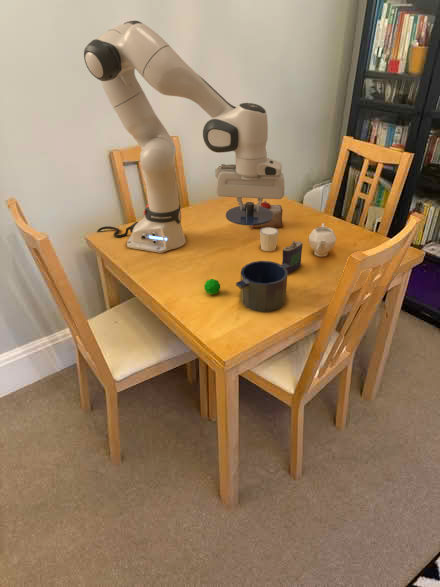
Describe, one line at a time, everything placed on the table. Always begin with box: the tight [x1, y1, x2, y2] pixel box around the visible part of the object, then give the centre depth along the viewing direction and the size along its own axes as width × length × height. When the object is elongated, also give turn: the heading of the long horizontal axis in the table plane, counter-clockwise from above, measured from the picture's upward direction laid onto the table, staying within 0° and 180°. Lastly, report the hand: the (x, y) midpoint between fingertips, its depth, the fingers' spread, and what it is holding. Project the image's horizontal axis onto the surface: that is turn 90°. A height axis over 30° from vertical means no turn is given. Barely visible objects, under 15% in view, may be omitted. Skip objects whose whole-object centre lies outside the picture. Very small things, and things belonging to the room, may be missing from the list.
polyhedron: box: [203, 278, 221, 295], centre depth 130 cm, size 5×5×5 cm
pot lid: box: [225, 201, 273, 227], centre depth 128 cm, size 15×15×5 cm
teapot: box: [308, 222, 337, 257], centre depth 149 cm, size 10×20×9 cm, turn 168°
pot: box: [235, 260, 291, 313], centre depth 126 cm, size 14×19×10 cm
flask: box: [281, 240, 303, 276], centre depth 140 cm, size 9×3×11 cm, turn 134°
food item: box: [250, 200, 284, 229], centre depth 171 cm, size 14×8×10 cm, turn 91°
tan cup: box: [259, 227, 280, 252], centre depth 155 cm, size 7×7×7 cm
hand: (249, 210), depth 128 cm, fingers closed on pot lid, 2 cm apart
